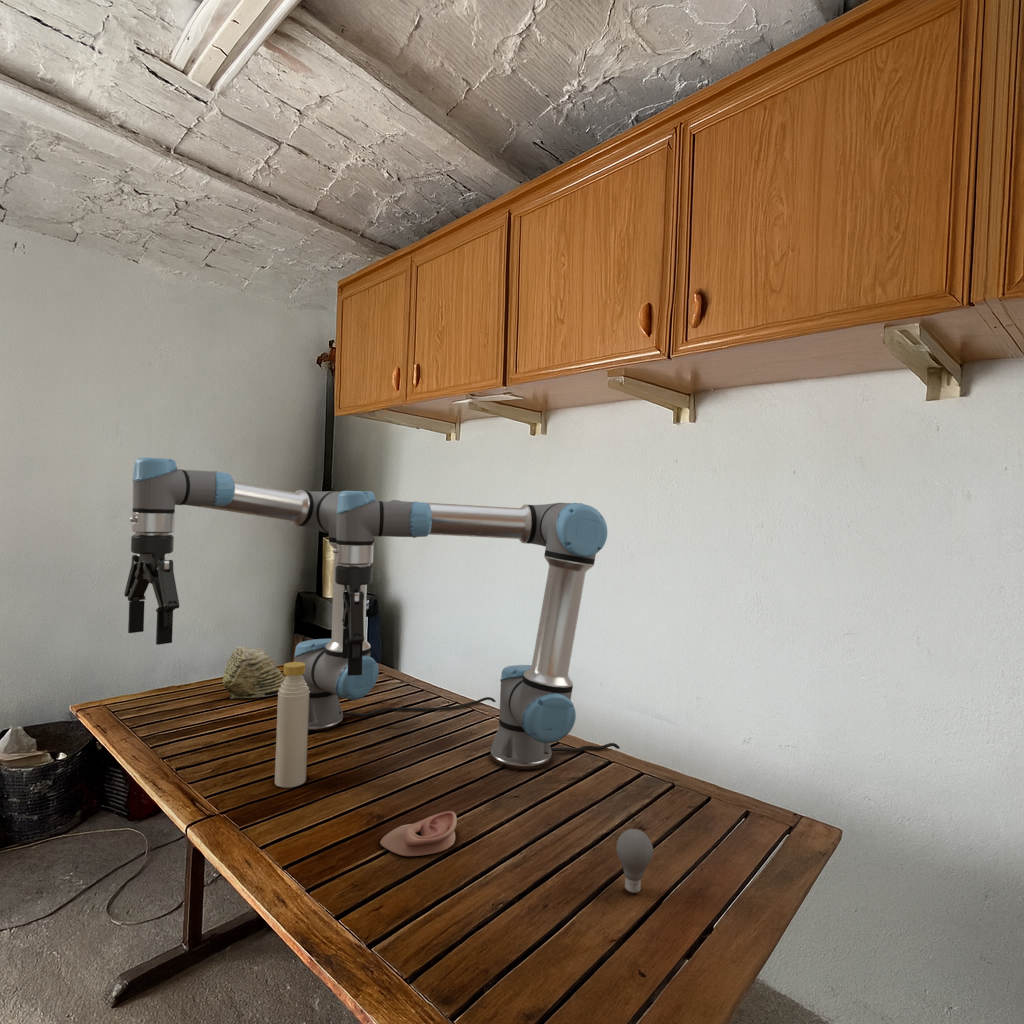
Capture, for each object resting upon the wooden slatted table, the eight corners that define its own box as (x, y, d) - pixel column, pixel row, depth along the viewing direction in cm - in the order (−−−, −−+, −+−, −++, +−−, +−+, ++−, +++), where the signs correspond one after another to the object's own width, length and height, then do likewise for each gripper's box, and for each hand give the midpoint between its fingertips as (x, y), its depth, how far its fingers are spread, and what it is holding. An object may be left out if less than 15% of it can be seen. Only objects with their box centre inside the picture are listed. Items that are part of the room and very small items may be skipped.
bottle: (302, 787, 138) (307, 670, 137) (270, 787, 137) (275, 670, 136) (308, 774, 144) (313, 662, 144) (278, 774, 143) (282, 662, 143)
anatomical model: (373, 829, 114) (398, 800, 125) (372, 851, 114) (397, 820, 125) (444, 840, 111) (462, 809, 122) (443, 863, 111) (461, 830, 122)
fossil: (218, 695, 195) (220, 647, 195) (278, 685, 208) (279, 640, 207) (228, 703, 189) (230, 653, 188) (289, 692, 201) (290, 645, 201)
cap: (302, 675, 138) (303, 667, 138) (281, 675, 138) (281, 667, 138) (307, 670, 143) (307, 661, 143) (286, 670, 142) (286, 661, 142)
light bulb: (610, 879, 108) (613, 822, 108) (644, 879, 109) (647, 822, 109) (619, 902, 102) (622, 840, 102) (655, 901, 103) (658, 840, 103)
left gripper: (108, 530, 134) (105, 630, 134) (159, 538, 118) (156, 651, 118) (147, 529, 139) (143, 625, 140) (200, 537, 124) (196, 645, 124)
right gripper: (331, 558, 142) (329, 652, 143) (340, 572, 119) (337, 684, 119) (365, 558, 145) (363, 650, 145) (380, 571, 121) (377, 681, 122)
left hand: (149, 637), depth 129 cm, fingers open, 13 cm apart
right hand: (351, 666), depth 132 cm, fingers open, 13 cm apart
